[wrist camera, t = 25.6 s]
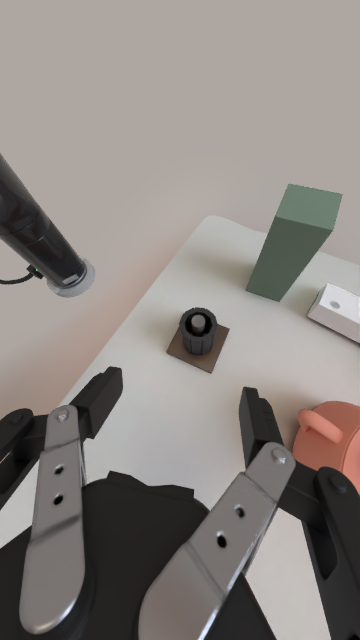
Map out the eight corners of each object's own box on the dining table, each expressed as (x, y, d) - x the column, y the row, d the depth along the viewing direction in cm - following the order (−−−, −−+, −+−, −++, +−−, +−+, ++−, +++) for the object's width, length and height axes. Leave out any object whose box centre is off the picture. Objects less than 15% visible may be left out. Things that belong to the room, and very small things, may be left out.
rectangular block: (245, 290, 43) (275, 216, 26) (255, 265, 45) (288, 183, 29) (279, 302, 41) (333, 230, 24) (288, 275, 43) (342, 193, 27)
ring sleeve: (178, 348, 38) (173, 333, 30) (191, 321, 39) (189, 302, 32) (206, 360, 36) (208, 348, 29) (218, 333, 38) (222, 314, 31)
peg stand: (167, 353, 39) (157, 335, 29) (187, 314, 42) (183, 286, 32) (211, 373, 36) (215, 361, 27) (228, 331, 39) (238, 306, 30)
